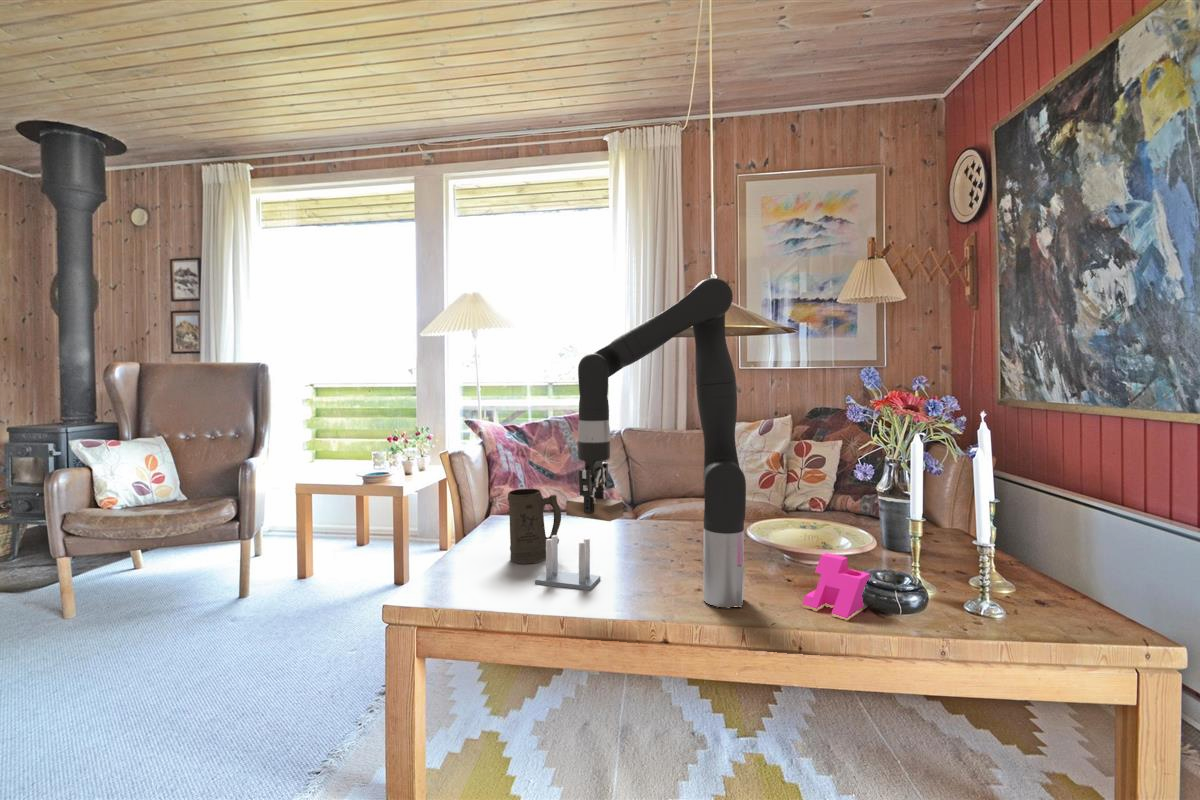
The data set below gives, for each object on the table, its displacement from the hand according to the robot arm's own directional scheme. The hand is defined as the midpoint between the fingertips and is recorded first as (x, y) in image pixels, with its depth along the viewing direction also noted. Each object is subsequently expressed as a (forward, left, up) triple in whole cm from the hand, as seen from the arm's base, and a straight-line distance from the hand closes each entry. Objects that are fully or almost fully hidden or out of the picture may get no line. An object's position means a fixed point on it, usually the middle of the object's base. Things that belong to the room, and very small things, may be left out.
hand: (594, 509), depth 134 cm
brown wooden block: (0, 0, -1) cm, 1 cm away
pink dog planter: (-54, -14, -22) cm, 60 cm away
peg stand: (+11, -10, -22) cm, 26 cm away
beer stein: (+27, -25, -22) cm, 43 cm away
